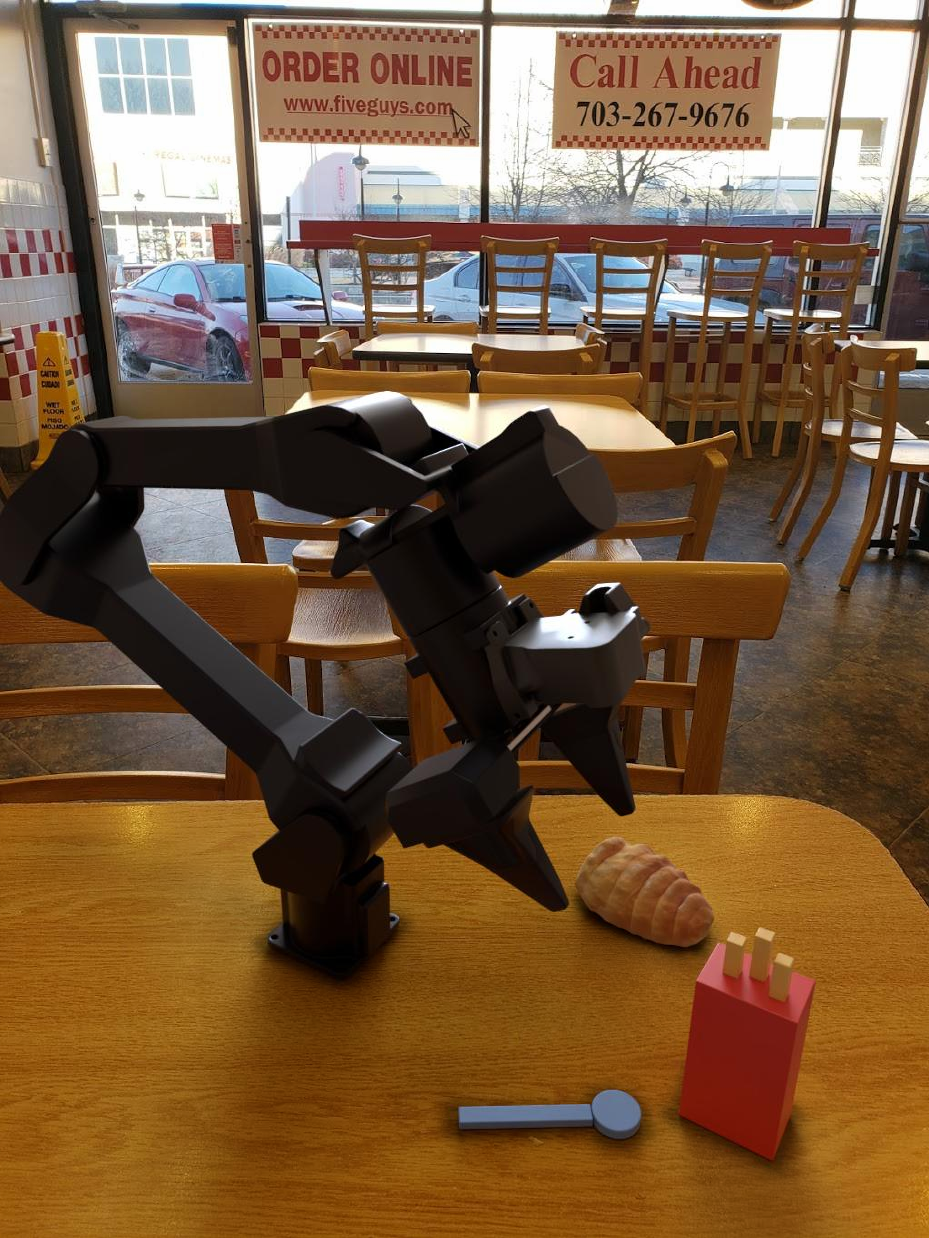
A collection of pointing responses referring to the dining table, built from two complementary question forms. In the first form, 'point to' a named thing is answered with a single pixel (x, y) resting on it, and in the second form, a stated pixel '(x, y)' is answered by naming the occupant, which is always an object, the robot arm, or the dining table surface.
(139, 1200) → the dining table surface
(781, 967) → the fries carton
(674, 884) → the pastry
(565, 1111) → the spoon
